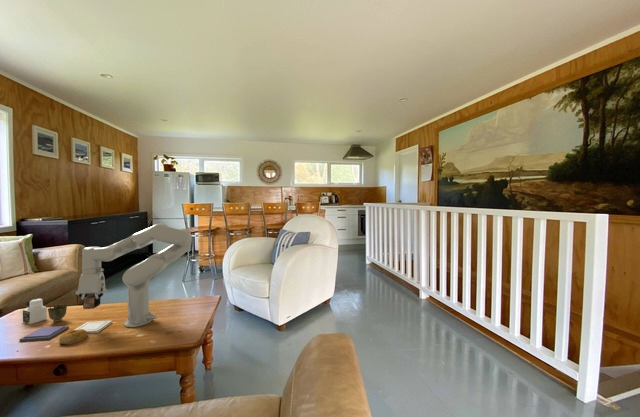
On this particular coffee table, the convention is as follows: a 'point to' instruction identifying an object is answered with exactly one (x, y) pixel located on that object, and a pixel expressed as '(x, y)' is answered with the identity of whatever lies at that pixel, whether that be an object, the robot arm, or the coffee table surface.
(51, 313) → the cup
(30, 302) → the medicine bottle
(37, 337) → the ink pad
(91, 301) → the stamp
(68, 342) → the bagel
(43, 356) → the coffee table surface
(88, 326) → the board
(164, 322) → the coffee table surface
